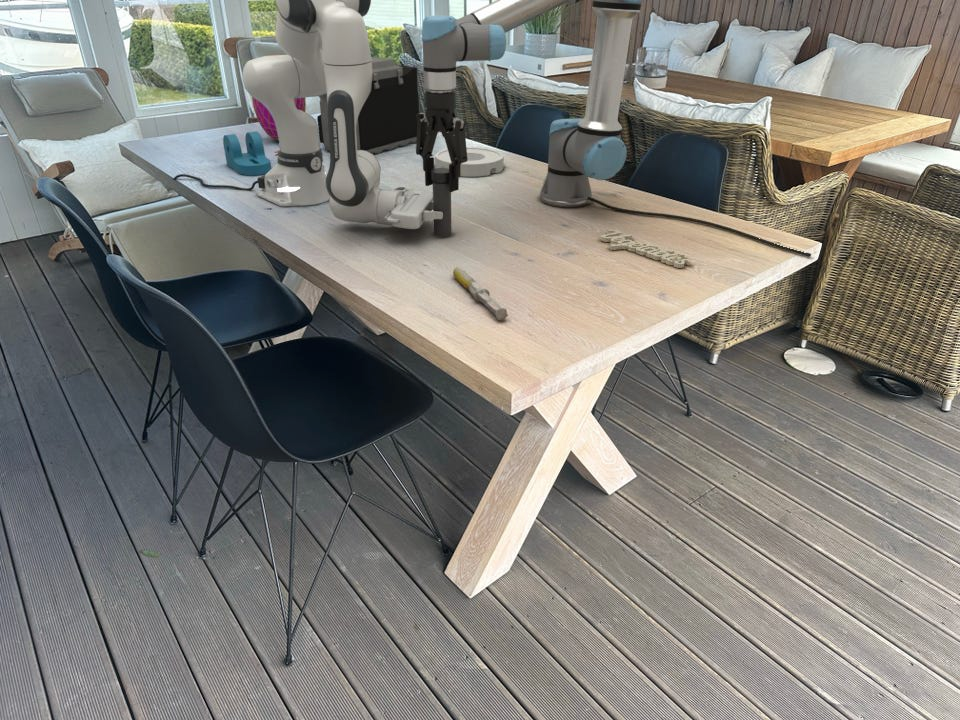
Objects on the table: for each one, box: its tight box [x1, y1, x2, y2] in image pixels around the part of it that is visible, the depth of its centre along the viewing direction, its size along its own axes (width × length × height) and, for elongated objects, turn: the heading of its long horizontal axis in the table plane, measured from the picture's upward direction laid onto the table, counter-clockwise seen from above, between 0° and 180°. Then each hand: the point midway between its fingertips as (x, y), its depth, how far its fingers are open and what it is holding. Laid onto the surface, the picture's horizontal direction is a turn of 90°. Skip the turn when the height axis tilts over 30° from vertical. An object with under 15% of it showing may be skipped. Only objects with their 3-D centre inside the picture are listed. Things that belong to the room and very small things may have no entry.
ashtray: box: [434, 146, 505, 178], centre depth 232 cm, size 23×23×4 cm
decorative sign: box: [600, 229, 691, 269], centre depth 168 cm, size 26×1×10 cm
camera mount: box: [222, 131, 272, 176], centre depth 226 cm, size 18×10×10 cm, turn 35°
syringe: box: [452, 266, 509, 321], centre depth 145 cm, size 25×4×3 cm, turn 21°
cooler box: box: [316, 56, 421, 155], centre depth 250 cm, size 37×22×30 cm, turn 144°
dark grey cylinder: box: [432, 181, 452, 238], centre depth 173 cm, size 5×5×16 cm
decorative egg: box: [251, 54, 307, 141], centre depth 257 cm, size 19×19×30 cm
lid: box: [431, 167, 449, 182], centre depth 170 cm, size 5×5×2 cm
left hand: (445, 211), depth 174 cm, fingers closed on dark grey cylinder, 4 cm apart
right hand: (441, 187), depth 171 cm, fingers open, 7 cm apart
